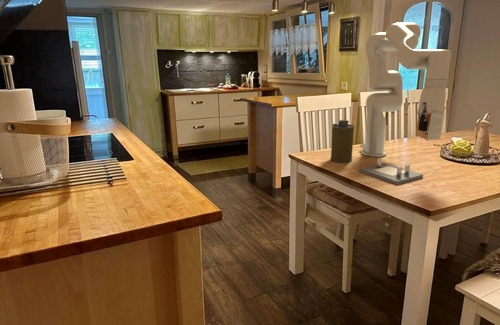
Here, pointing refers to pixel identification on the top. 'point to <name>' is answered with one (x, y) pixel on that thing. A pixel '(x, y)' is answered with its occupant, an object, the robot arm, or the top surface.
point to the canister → (342, 142)
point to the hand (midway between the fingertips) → (428, 129)
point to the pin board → (390, 173)
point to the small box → (432, 127)
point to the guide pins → (399, 169)
